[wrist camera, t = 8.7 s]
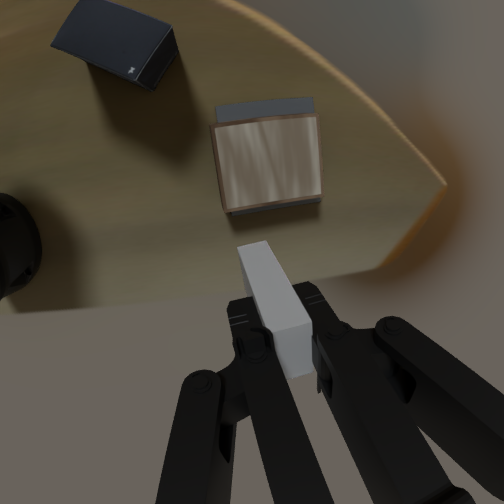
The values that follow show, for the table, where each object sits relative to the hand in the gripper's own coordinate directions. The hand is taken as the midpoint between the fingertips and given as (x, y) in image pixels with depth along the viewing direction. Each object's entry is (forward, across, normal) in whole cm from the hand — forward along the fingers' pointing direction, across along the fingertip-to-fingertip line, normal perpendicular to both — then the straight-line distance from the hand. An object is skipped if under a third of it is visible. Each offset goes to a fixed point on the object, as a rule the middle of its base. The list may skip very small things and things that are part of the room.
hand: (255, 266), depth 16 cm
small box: (+24, -7, +18) cm, 30 cm away
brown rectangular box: (+21, 0, +2) cm, 21 cm away
